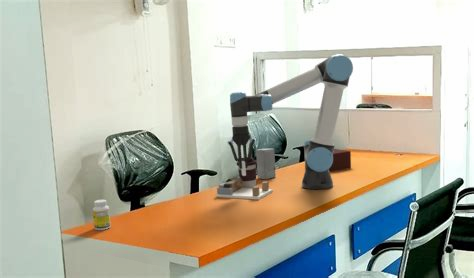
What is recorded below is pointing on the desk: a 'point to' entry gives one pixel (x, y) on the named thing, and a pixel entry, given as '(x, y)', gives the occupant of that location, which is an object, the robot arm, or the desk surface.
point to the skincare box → (265, 163)
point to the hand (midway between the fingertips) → (244, 175)
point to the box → (340, 160)
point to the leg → (234, 184)
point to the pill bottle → (101, 215)
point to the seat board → (244, 192)
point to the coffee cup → (248, 173)
